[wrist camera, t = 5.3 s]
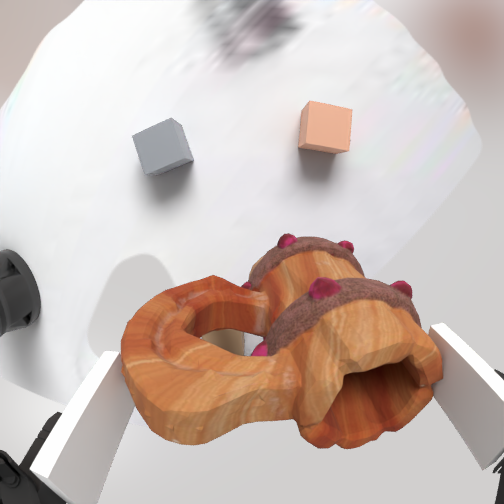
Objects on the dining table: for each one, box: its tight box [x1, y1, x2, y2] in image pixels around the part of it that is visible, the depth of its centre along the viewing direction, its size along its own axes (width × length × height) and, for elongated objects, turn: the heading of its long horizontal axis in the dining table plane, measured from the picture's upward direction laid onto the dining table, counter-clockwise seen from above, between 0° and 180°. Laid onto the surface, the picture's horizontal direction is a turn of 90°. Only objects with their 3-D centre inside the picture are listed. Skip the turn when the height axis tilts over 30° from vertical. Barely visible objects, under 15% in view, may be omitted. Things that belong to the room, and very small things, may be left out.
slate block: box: [132, 118, 194, 175], centre depth 30 cm, size 5×5×5 cm
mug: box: [121, 234, 443, 449], centre depth 15 cm, size 15×8×15 cm, turn 83°
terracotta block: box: [298, 101, 352, 154], centre depth 30 cm, size 5×5×5 cm
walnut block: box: [202, 329, 244, 356], centre depth 37 cm, size 5×5×5 cm
